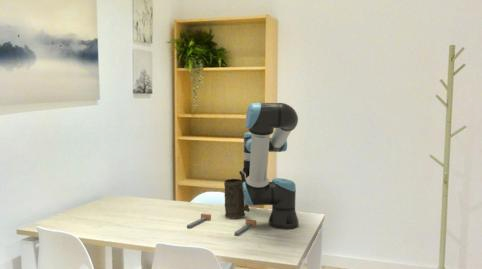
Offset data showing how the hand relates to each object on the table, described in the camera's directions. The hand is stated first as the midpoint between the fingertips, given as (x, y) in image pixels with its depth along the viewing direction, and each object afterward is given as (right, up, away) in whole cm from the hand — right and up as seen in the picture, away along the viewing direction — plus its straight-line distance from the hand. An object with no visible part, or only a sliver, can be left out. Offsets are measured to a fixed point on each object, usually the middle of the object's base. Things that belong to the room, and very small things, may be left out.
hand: (249, 200), depth 253 cm
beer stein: (-7, -7, -14) cm, 17 cm away
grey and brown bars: (-16, -8, -33) cm, 38 cm away
